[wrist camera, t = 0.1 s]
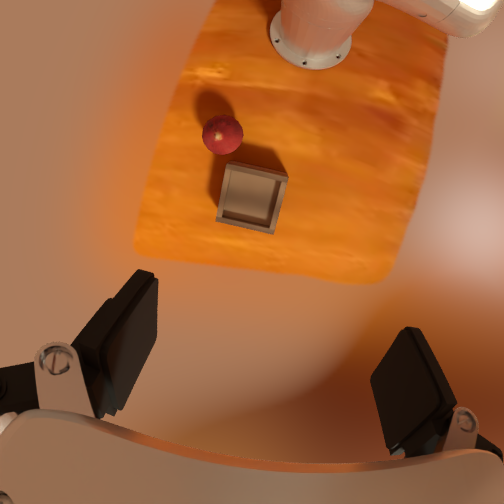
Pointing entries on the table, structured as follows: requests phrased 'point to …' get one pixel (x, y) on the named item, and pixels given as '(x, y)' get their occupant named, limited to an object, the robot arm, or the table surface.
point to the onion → (222, 134)
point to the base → (251, 196)
